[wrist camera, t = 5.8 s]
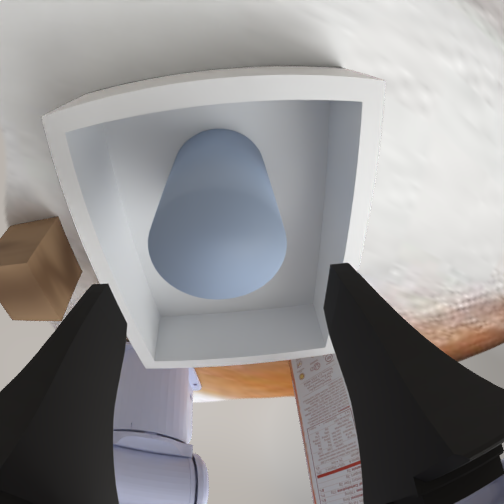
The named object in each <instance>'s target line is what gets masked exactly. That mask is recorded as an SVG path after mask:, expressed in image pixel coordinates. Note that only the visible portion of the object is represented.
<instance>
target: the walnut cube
mask: <svg viewBox="0 0 504 504" xmlns="http://www.w3.org/2000/svg"><path fill="white" fill-rule="evenodd" d="M81 273H82V270H81V268H80V266H79V264H78V262H77V260H76V257H75V255H74V253H73V251H72V249H71V246H70V244H69V242H68V239H67V237H66V235H65V232H64V230H63V227H62V225H61V223H60V220H59V218H58V217H54V218H48V219H43V220H38V221H32V222H27V223H22V224H17V225H13V226H10V227H9V228H8V229H7V231H6V232H5V233H4V235H3V236H2V237H1V238H0V303H1V304H2V306H3V307H4V309H5V310H6V312H7V313H8V314H9V316H10V317H11V319H12V320H26V321H62V318H63V316H64V313H65V311H66V308H67V306H68V303H69V301H70V299H71V296H72V294H73V292H74V289H75V287H76V285H77V282H78V280H79V278H80V276H81Z"/></svg>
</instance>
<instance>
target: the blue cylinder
mask: <svg viewBox="0 0 504 504" xmlns="http://www.w3.org/2000/svg"><path fill="white" fill-rule="evenodd" d="M286 249H287V239H286V233H285V229H284V226H283V223H282V219H281V216H280V213H279V209H278V206H277V203H276V199H275V196H274V193H273V190H272V186H271V183H270V180H269V177H268V173H267V170H266V167H265V164H264V161H263V158H262V155H261V153H260V151H259V149H258V148H257V146H256V145H255V144H254V143H253V142H252V141H251V140H250V139H249V138H247V137H246V136H244V135H242V134H241V133H238V132H236V131H232V130H228V129H210V130H206V131H203V132H200V133H198V134H196V135H194V136H193V137H191V138H190V139H189V140H187V141H186V142H185V143H184V144H183V146H182V147H181V148H180V150H179V152H178V153H177V156H176V158H175V161H174V163H173V166H172V169H171V171H170V174H169V177H168V179H167V182H166V185H165V188H164V190H163V193H162V196H161V199H160V202H159V205H158V207H157V210H156V213H155V216H154V219H153V222H152V225H151V229H150V232H149V237H148V250H149V256H150V258H151V261H152V263H153V265H154V267H155V269H156V270H157V272H158V273H159V275H160V276H161V277H162V278H163V279H164V280H165V281H166V282H168V283H169V284H170V285H171V286H173V287H174V288H176V289H178V290H180V291H182V292H184V293H186V294H189V295H192V296H195V297H199V298H204V299H231V298H236V297H240V296H243V295H246V294H249V293H251V292H253V291H255V290H257V289H259V288H260V287H262V286H263V285H265V284H266V283H267V282H268V281H270V280H271V279H272V278H273V277H274V275H275V274H276V273H277V272H278V270H279V269H280V267H281V265H282V263H283V261H284V258H285V255H286Z"/></svg>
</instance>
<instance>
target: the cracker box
mask: <svg viewBox="0 0 504 504" xmlns="http://www.w3.org/2000/svg"><path fill="white" fill-rule="evenodd" d="M288 361H289V366H290V371H291V376H292V382H293V388H294V393H295V399H296V404H297V409H298V415H299V421H300V427H301V432H302V438H303V444H304V450H305V455H306V462H307V467H308V473H309V479H310V485H311V491H312V497H313V503H314V504H364V503H363V485H362V471H361V462H360V453H359V445H358V439H357V433H356V426H355V421H354V416H353V410H352V405H351V401H350V397H349V393H348V390H347V387H346V384H345V381H344V378H343V375H342V372H341V369H340V366H339V363H338V360H337V357H336V354H335V353H333V354H327V355H320V356H314V357H306V358H299V359H291V360H288Z"/></svg>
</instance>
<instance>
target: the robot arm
mask: <svg viewBox="0 0 504 504" xmlns="http://www.w3.org/2000/svg"><path fill="white" fill-rule="evenodd" d="M323 309H324V313H325V318H326V323H327V328H328V332H329V336H330V339H331V342H332V345H333V348H334V351H335V354H336V357H337V360H338V363H339V366H340V369H341V372H342V375H343V378H344V381H345V384H346V387H347V390H348V393H349V397H350V401H351V405H352V410H353V416H354V421H355V426H356V433H357V439H358V445H359V453H360V462H361V471H362V485H363V503H364V504H504V458H503V459H500V456H499V455H501V454H502V453H503V451H504V450H503V447H502V443H503V442H504V389H502V388H500V387H498V386H496V385H494V384H492V383H491V382H489V381H487V380H485V379H484V378H482V377H480V376H478V375H476V374H475V373H473V372H472V371H470V370H469V369H467V368H465V367H464V366H463V365H461V364H460V363H458V362H457V361H455V360H454V359H452V358H451V357H449V356H448V355H447V354H445V353H444V352H443V351H441V350H440V349H439V348H437V347H436V346H435V345H434V344H432V343H431V342H430V341H429V340H427V339H426V338H425V337H424V336H423V335H421V334H420V333H419V332H418V331H417V330H416V329H414V328H413V327H412V326H411V325H410V324H409V323H408V322H407V321H406V320H405V319H403V318H402V317H401V316H400V315H399V314H398V313H397V312H396V311H395V310H394V309H393V308H392V307H391V306H390V305H389V304H388V303H387V302H386V301H385V300H384V299H383V298H382V297H381V296H380V295H379V294H378V293H377V292H376V291H375V290H374V289H373V288H372V287H371V286H370V285H369V284H368V283H367V281H366V280H365V279H364V278H363V277H362V276H361V275H360V274H359V273H358V272H357V271H356V270H355V269H354V268H353V267H352V266H351V265H350V264H349V263H340V264H330V269H329V276H328V282H327V289H326V295H325V301H324V307H323ZM126 335H127V322H126V320H125V318H124V316H123V314H122V312H121V310H120V308H119V306H118V304H117V302H116V299H115V297H114V295H113V293H112V291H111V289H110V287H109V284H108V283H107V284H93V285H92V286H91V287H90V288H89V289H88V290H87V291H86V293H85V294H84V295H83V296H82V297H81V299H80V300H79V301H78V302H77V304H76V305H75V306H74V307H73V309H72V310H71V311H70V313H69V314H68V315H67V316H66V318H65V319H64V320H63V321H62V323H61V324H60V325H59V327H58V328H57V329H56V330H55V332H54V333H53V334H52V335H51V337H50V338H49V339H48V340H47V341H46V343H45V344H44V345H43V346H42V348H41V349H40V350H39V352H38V353H37V354H36V355H35V356H34V357H33V359H32V360H31V361H30V362H29V363H28V364H27V365H26V366H25V368H24V369H23V370H22V371H21V372H20V373H19V374H18V375H17V376H16V377H15V378H14V379H13V380H12V381H11V382H10V383H9V384H8V385H7V386H6V387H5V388H4V389H3V390H2V391H1V392H0V504H207V501H208V493H209V492H208V491H209V481H208V480H209V479H208V472H207V467H206V464H205V463H204V461H203V460H202V459H201V457H200V456H199V455H198V454H194V453H193V452H192V451H193V449H192V445H191V444H189V442H190V440H191V437H192V406H193V390H201V383H200V381H199V378H198V376H197V373H196V371H195V368H152V369H146V368H145V366H144V365H143V363H142V362H141V360H140V358H139V356H138V355H137V353H136V351H135V350H134V348H133V346H132V344H131V343H130V342H126Z"/></svg>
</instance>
